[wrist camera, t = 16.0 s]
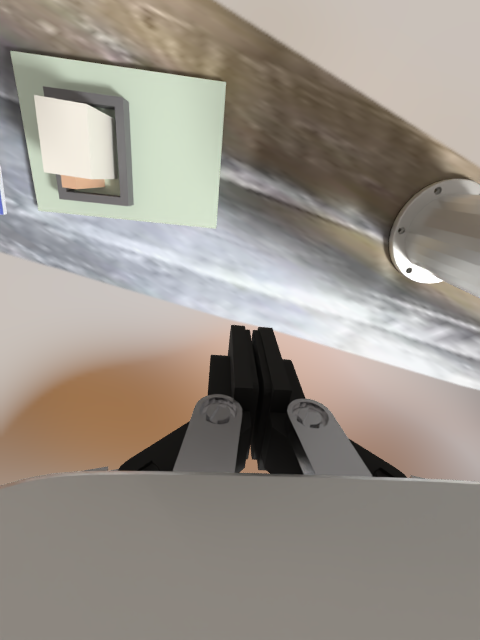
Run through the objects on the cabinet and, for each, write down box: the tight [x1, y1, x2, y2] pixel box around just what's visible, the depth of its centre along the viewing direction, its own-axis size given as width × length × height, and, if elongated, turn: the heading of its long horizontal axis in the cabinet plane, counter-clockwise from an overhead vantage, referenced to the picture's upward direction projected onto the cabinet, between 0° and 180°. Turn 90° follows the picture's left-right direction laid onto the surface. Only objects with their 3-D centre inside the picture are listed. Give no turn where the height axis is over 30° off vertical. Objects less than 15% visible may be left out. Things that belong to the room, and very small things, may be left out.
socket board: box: [10, 51, 226, 229], centre depth 31 cm, size 20×14×3 cm
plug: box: [34, 95, 118, 189], centre depth 28 cm, size 4×6×7 cm, turn 172°
